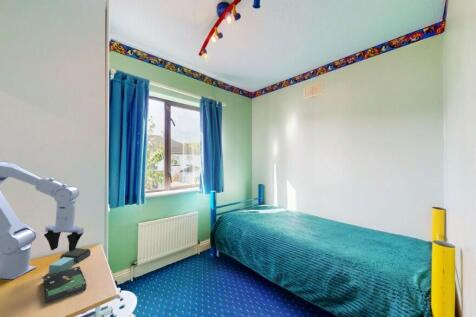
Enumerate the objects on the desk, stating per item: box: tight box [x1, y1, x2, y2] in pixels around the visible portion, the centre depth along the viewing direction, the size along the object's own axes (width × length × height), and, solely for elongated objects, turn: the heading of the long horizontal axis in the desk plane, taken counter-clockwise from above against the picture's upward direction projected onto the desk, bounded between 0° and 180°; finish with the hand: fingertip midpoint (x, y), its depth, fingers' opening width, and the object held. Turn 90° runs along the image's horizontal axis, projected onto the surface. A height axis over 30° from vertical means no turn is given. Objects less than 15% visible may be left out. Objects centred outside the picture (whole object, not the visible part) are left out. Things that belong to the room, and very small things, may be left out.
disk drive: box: [43, 265, 87, 304], centre depth 69 cm, size 10×3×15 cm
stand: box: [59, 247, 92, 264], centre depth 87 cm, size 8×7×3 cm
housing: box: [48, 257, 74, 274], centre depth 78 cm, size 4×6×3 cm
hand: (63, 249), depth 78 cm, fingers open, 7 cm apart
